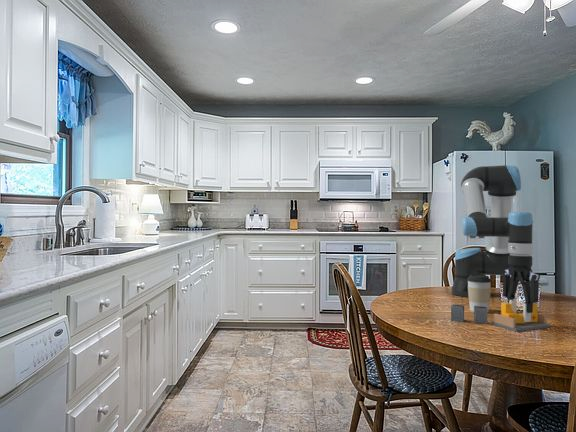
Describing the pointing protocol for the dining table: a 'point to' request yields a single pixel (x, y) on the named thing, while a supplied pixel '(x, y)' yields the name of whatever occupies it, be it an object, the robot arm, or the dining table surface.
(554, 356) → the dining table surface
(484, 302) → the coffee cup
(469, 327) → the dining table surface
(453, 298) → the dining table surface
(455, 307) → the block
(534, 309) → the pipe clamp
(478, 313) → the block
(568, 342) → the dining table surface
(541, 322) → the end holder
